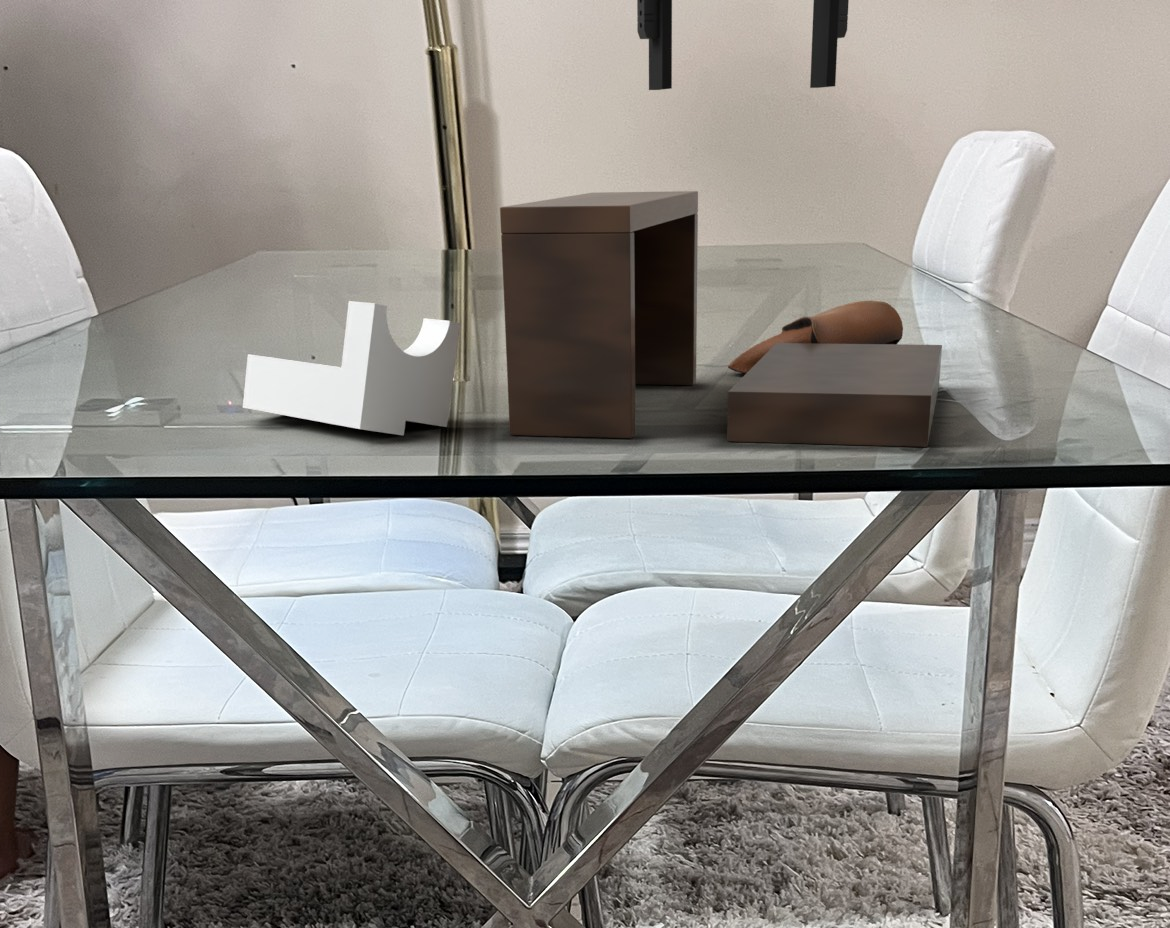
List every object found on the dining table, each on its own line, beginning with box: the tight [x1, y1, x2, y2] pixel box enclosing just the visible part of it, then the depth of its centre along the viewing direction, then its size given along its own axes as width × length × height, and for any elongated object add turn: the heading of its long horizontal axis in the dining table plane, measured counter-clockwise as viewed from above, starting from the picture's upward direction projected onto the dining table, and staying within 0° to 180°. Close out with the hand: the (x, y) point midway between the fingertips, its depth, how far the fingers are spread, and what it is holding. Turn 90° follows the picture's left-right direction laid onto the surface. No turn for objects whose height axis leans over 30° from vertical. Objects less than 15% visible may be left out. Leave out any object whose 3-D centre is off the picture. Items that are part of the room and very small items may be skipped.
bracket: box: [242, 300, 462, 436], centre depth 93 cm, size 13×7×8 cm, turn 46°
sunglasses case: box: [727, 300, 904, 375], centre depth 114 cm, size 18×7×7 cm, turn 149°
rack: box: [499, 190, 943, 448], centre depth 93 cm, size 26×22×14 cm
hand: (742, 88), depth 107 cm, fingers open, 13 cm apart
